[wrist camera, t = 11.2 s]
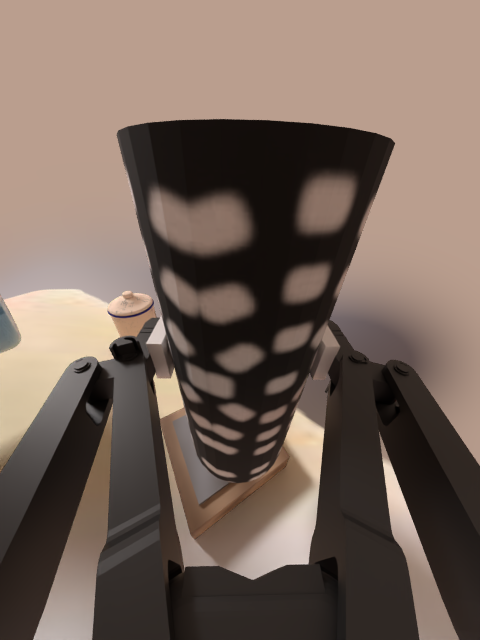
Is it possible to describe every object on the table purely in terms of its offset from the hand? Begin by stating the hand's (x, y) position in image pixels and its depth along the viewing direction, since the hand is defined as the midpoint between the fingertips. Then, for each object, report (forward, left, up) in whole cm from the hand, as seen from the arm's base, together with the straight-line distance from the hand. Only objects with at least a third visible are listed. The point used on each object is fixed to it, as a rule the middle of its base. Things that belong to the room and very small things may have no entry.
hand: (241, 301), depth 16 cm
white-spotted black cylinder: (-2, -4, -11) cm, 12 cm away
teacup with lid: (-9, +33, -24) cm, 42 cm away
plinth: (-3, 0, -24) cm, 24 cm away
